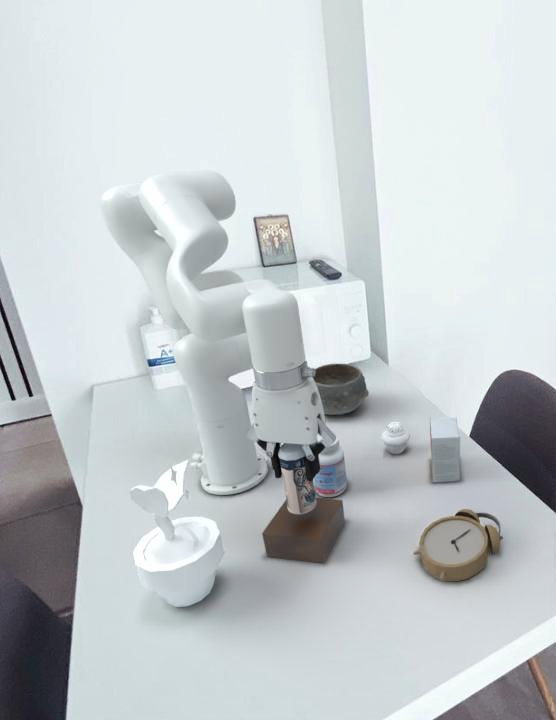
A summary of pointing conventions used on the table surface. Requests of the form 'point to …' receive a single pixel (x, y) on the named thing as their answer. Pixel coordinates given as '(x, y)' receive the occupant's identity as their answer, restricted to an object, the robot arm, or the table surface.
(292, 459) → the beer can
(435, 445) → the small box
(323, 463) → the pill bottle
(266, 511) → the table surface
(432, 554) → the alarm clock
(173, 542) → the potted plant
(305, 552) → the block
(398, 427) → the muffin
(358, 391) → the bowl
